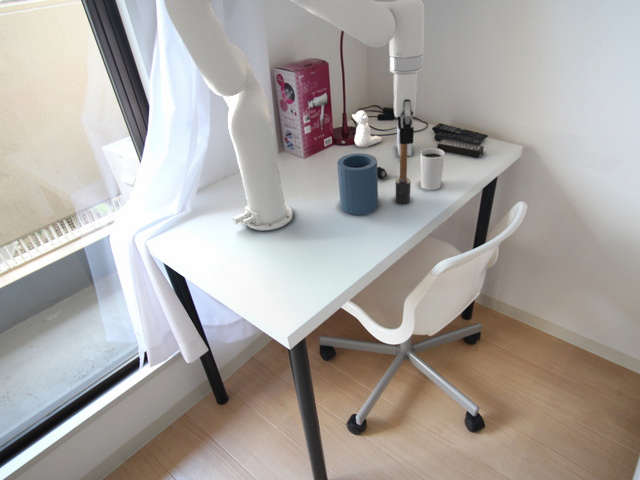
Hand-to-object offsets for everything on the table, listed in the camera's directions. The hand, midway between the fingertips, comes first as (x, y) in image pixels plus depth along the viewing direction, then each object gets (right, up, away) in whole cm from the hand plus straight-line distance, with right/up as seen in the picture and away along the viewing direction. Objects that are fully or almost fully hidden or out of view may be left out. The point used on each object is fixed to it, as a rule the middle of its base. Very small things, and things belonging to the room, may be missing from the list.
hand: (405, 135), depth 108 cm
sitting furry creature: (-9, +10, +45) cm, 46 cm away
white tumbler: (+10, -10, +17) cm, 22 cm away
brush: (+1, -15, +11) cm, 19 cm away
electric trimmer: (-10, -3, +25) cm, 27 cm away
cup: (-11, -16, +10) cm, 22 cm away
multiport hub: (+23, +5, +35) cm, 42 cm away
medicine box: (+4, +5, +37) cm, 38 cm away
